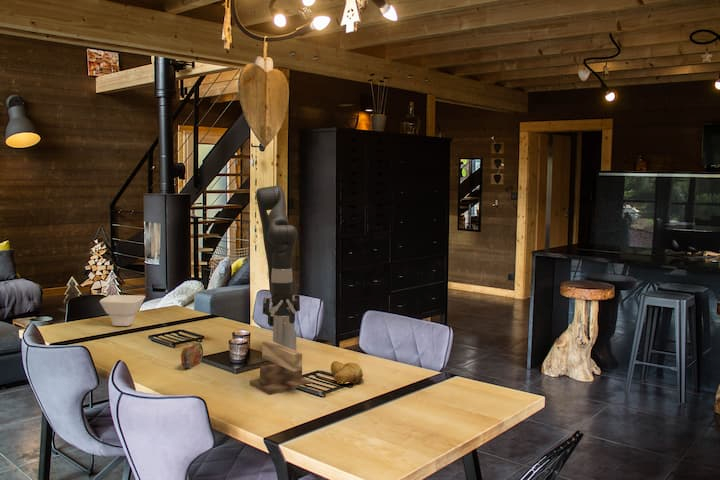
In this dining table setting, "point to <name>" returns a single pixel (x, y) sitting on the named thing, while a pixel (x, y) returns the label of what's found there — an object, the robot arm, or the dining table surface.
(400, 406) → the dining table surface
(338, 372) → the bread roll
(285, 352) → the oak bar
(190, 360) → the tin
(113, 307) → the bowl
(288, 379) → the stand
